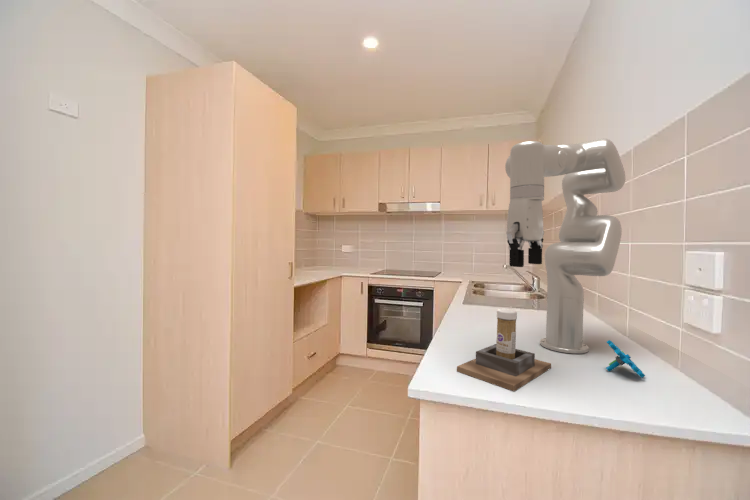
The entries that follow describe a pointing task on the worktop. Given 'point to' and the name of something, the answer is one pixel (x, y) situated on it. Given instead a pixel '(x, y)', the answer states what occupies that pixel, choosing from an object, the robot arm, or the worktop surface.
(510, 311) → the sprinkles bottle
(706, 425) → the worktop surface
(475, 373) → the caddy
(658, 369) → the worktop surface
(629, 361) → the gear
